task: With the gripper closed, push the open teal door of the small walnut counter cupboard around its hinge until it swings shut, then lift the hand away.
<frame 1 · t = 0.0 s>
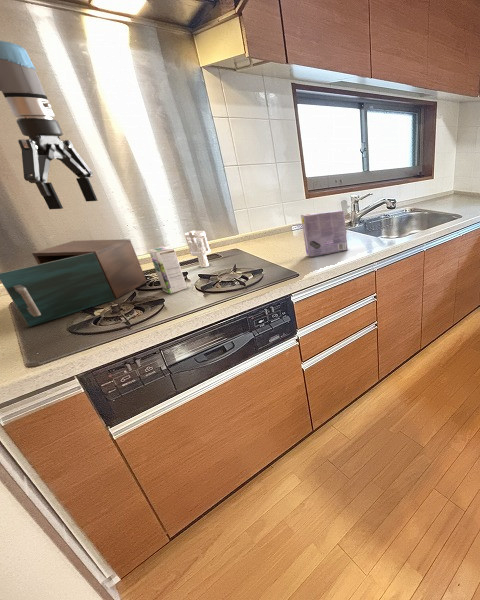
hand: (75, 204, 91), 30 cm above the worktop, tool pointing down, fingers open, 13 cm apart
cupboard door: (65, 289, 93), point 8 cm above the worktop, hinge at 60.0°
syrup box: (175, 290, 111), on the worktop
cupboard: (104, 290, 112), on the worktop
purple printed carton: (328, 252, 145), on the worktop
white slotted fitting: (205, 266, 133), on the worktop
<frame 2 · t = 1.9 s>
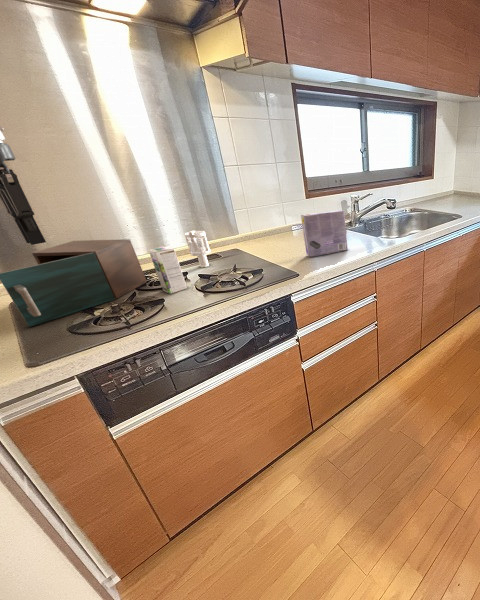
hand: (36, 242, 84), 23 cm above the worktop, tool pointing down, fingers open, 3 cm apart
nothing on the worktop moved.
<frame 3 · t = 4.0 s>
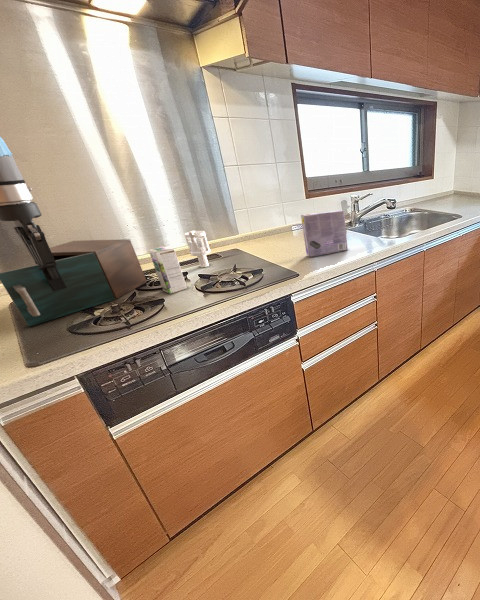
hand: (59, 289, 91), 9 cm above the worktop, tool pointing down, fingers closed
cupboard door: (65, 289, 93), point 8 cm above the worktop, hinge at 59.0°, touching gripper
everything else where it was.
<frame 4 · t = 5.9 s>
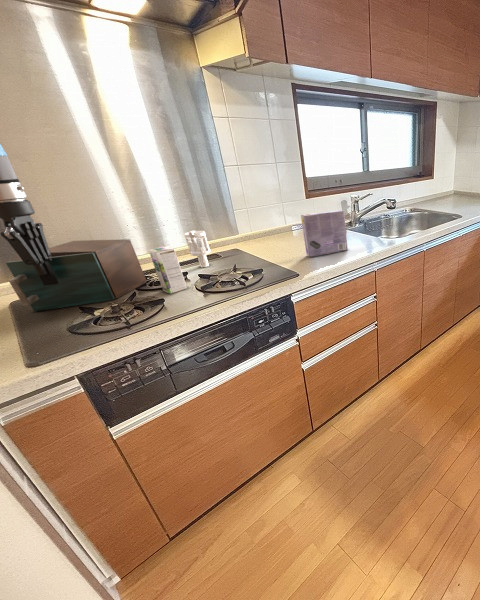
hand: (51, 284, 94), 9 cm above the worktop, tool pointing down, fingers closed
cupboard door: (59, 284, 96), point 8 cm above the worktop, hinge at 22.2°, touching gripper
everything else where it was.
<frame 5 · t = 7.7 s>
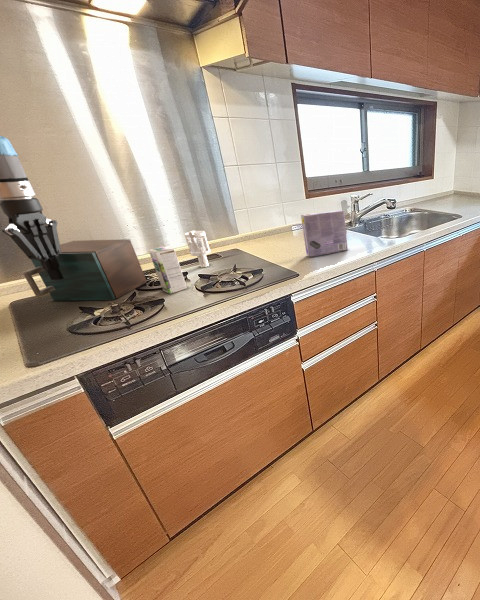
hand: (57, 279, 98), 9 cm above the worktop, tool pointing down, fingers closed
cupboard door: (65, 280, 100), point 8 cm above the worktop, hinge at -0.3°, touching gripper
everything else where it was.
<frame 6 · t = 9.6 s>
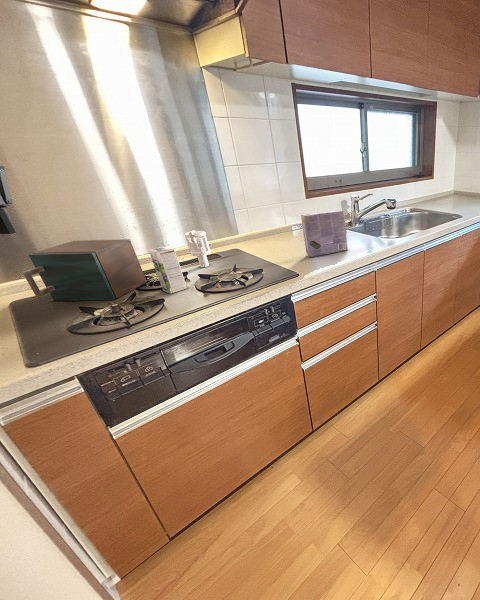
hand: (8, 233, 88), 24 cm above the worktop, tool pointing down, fingers closed
cupboard door: (65, 280, 100), point 8 cm above the worktop, hinge at -0.3°
everything else where it was.
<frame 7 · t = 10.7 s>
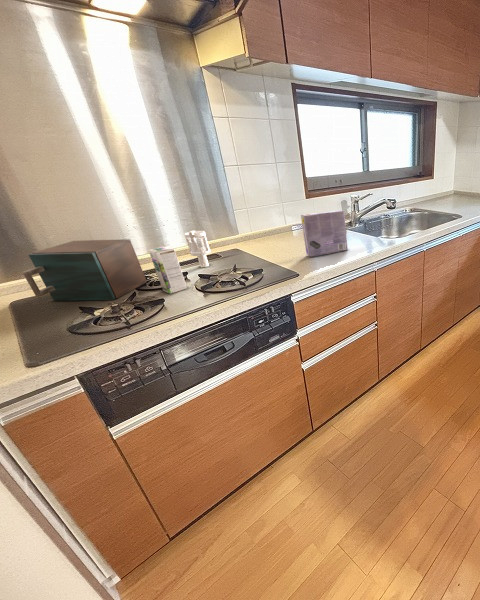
nothing on the worktop moved.
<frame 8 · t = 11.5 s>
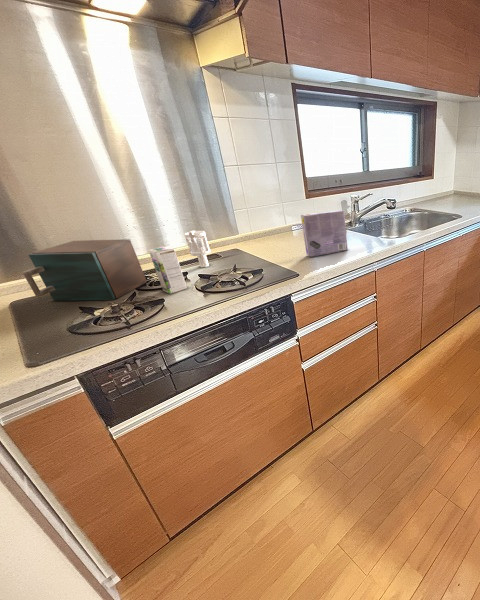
nothing on the worktop moved.
at the end: cupboard door at +0° (first picture: +60°); syrup box moved 0.2 cm from its start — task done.
